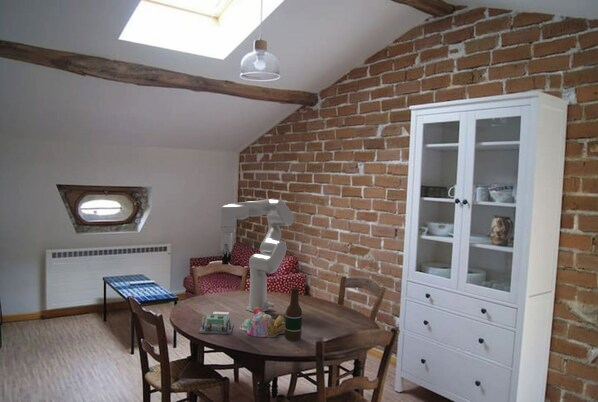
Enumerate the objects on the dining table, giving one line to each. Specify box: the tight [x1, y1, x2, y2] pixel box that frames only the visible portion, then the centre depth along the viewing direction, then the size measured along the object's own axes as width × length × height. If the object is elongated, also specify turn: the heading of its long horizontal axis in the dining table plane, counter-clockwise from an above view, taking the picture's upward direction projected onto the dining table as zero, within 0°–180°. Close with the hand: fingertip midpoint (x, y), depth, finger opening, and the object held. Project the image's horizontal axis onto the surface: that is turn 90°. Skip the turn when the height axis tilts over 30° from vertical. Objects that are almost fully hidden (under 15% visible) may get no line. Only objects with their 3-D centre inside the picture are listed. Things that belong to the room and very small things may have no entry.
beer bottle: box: [284, 286, 303, 342], centre depth 210 cm, size 8×8×24 cm
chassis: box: [198, 313, 234, 335], centre depth 218 cm, size 15×12×6 cm
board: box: [205, 314, 229, 325], centre depth 218 cm, size 10×6×3 cm, turn 92°
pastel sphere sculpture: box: [239, 307, 286, 338], centre depth 221 cm, size 25×24×9 cm
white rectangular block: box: [212, 311, 230, 321], centre depth 233 cm, size 8×4×4 cm, turn 92°
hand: (226, 262), depth 231 cm, fingers open, 9 cm apart
